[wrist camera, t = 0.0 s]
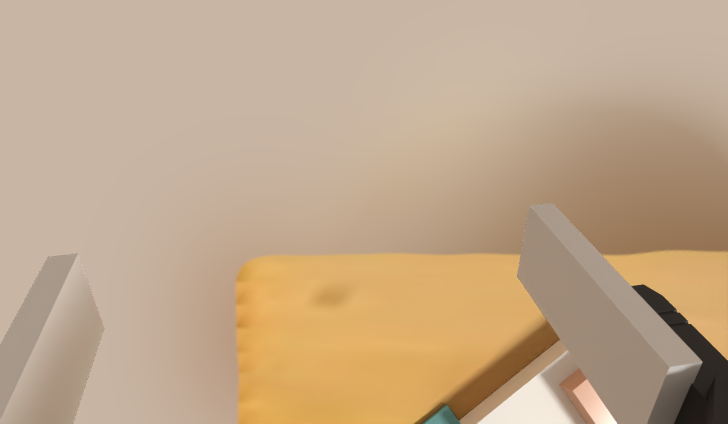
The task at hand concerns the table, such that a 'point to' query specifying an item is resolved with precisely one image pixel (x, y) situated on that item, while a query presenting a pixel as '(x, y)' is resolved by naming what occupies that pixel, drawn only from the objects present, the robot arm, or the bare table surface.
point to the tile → (586, 399)
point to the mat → (442, 417)
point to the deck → (532, 394)
